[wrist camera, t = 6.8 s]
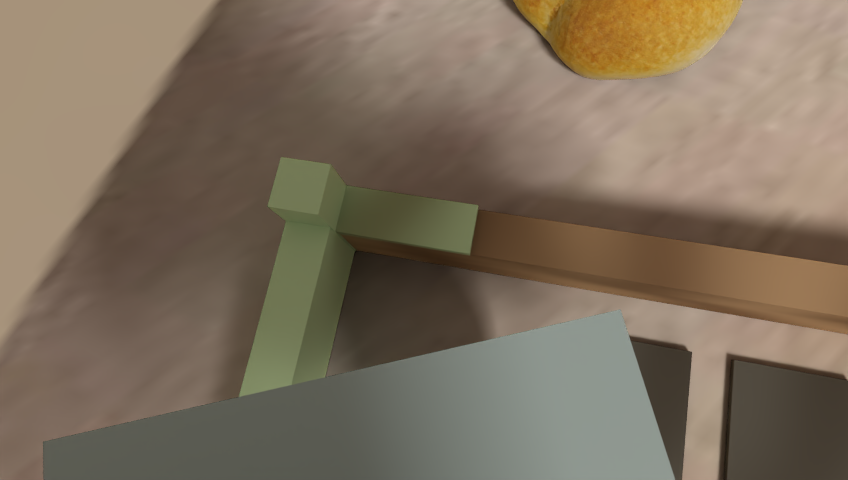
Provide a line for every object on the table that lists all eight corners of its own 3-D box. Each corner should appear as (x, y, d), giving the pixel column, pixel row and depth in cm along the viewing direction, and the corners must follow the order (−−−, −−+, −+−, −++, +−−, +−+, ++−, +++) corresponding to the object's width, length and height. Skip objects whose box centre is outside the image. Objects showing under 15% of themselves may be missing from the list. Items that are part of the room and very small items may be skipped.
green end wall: (365, 211, 20) (331, 164, 16) (260, 661, 17) (179, 759, 12) (325, 204, 21) (281, 157, 16) (214, 646, 17) (118, 738, 13)
